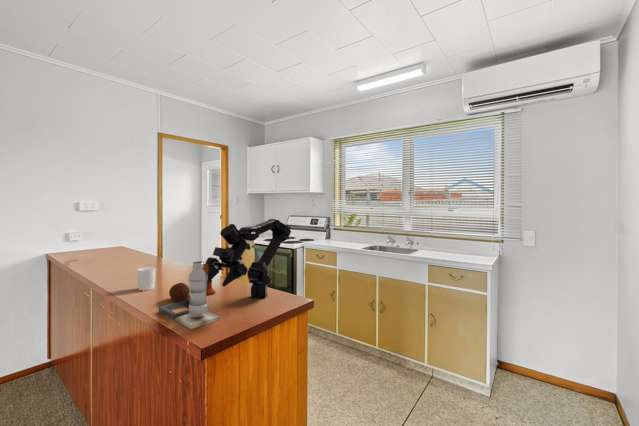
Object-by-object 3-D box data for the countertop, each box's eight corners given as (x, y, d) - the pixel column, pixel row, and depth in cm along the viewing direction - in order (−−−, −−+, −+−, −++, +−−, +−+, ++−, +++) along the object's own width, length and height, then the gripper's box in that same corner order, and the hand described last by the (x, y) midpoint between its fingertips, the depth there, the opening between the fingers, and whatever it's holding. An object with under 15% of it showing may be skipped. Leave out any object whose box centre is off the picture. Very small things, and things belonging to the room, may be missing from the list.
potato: (181, 295, 137) (181, 278, 137) (195, 301, 130) (195, 283, 130) (164, 299, 131) (164, 281, 131) (178, 305, 124) (178, 286, 124)
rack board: (203, 312, 116) (203, 309, 116) (219, 319, 109) (219, 316, 109) (175, 320, 108) (175, 317, 108) (191, 329, 101) (191, 325, 101)
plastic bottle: (201, 320, 105) (202, 264, 104) (184, 319, 106) (184, 263, 106) (211, 314, 111) (211, 261, 111) (194, 313, 112) (195, 260, 112)
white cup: (158, 288, 148) (158, 268, 148) (142, 292, 141) (142, 271, 141) (150, 285, 152) (150, 266, 152) (134, 289, 146) (134, 269, 145)
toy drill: (219, 298, 130) (217, 263, 131) (199, 294, 143) (198, 262, 144) (229, 295, 133) (227, 262, 134) (209, 292, 146) (207, 261, 147)
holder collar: (189, 304, 126) (189, 299, 126) (205, 310, 118) (205, 305, 118) (158, 312, 116) (158, 306, 116) (174, 320, 108) (174, 314, 108)
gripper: (209, 237, 123) (185, 269, 114) (242, 241, 114) (219, 275, 105) (224, 254, 130) (203, 284, 121) (256, 258, 121) (236, 292, 112)
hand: (214, 284), depth 115 cm, fingers open, 9 cm apart
